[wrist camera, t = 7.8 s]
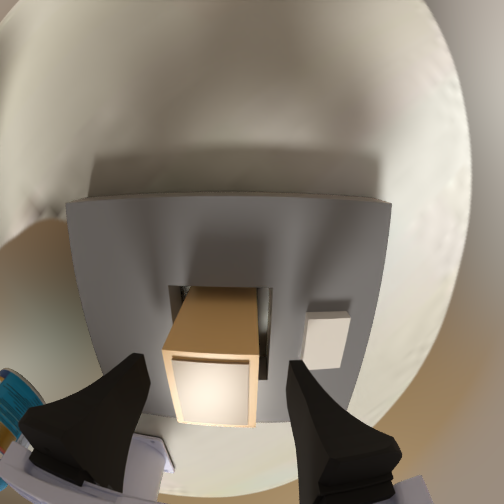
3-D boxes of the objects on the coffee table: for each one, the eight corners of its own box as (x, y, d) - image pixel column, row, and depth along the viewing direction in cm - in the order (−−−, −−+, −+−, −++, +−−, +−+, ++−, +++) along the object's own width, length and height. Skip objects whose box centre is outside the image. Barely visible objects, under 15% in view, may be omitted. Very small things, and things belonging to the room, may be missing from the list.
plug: (197, 347, 19) (177, 424, 12) (192, 283, 17) (160, 351, 10) (254, 349, 19) (255, 429, 12) (256, 285, 17) (259, 357, 10)
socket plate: (125, 388, 20) (113, 414, 17) (87, 197, 16) (57, 205, 12) (337, 395, 20) (346, 424, 17) (373, 197, 16) (398, 205, 13)
